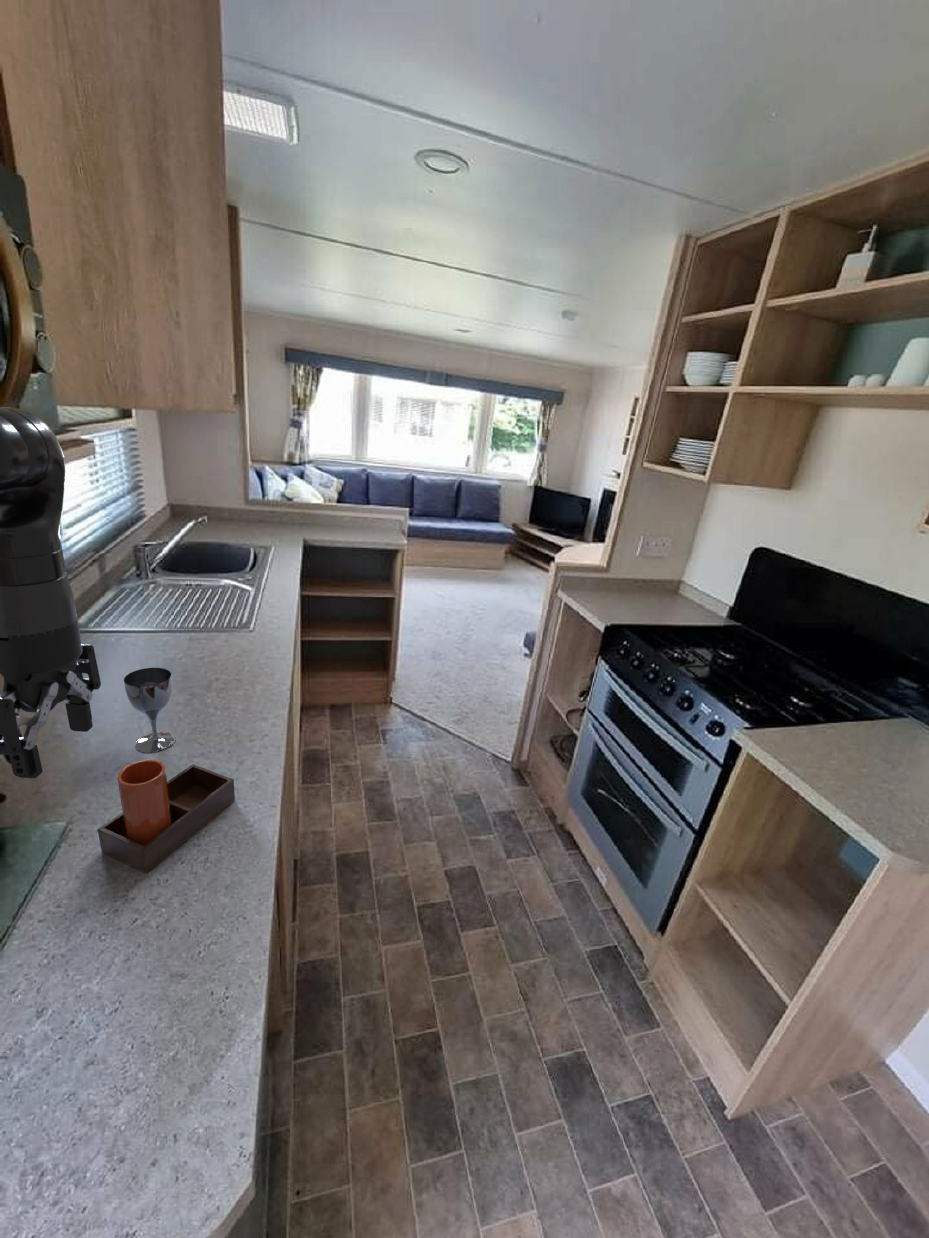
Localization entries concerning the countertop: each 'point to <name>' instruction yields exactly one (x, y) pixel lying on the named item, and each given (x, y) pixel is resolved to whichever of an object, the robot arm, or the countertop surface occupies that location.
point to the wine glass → (150, 702)
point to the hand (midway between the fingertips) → (57, 751)
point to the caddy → (172, 818)
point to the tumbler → (144, 800)
